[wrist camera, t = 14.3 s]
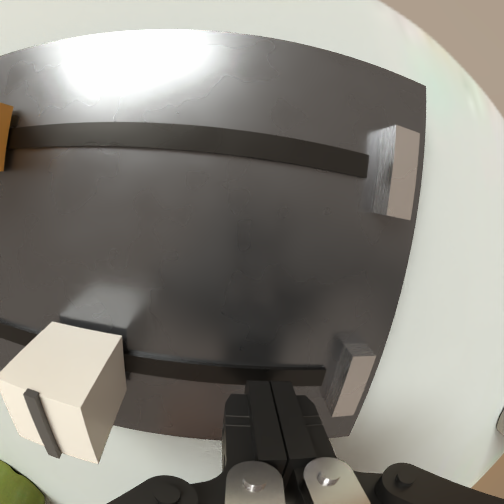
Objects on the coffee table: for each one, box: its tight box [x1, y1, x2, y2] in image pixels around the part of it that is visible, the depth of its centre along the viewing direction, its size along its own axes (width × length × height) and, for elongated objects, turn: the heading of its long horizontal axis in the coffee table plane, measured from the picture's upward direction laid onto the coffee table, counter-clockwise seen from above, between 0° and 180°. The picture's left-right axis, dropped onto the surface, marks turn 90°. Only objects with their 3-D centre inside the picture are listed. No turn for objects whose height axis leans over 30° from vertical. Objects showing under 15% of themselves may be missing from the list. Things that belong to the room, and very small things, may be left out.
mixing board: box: [0, 29, 426, 440], centre depth 10 cm, size 22×16×3 cm
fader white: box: [0, 321, 127, 464], centre depth 7 cm, size 3×3×4 cm
